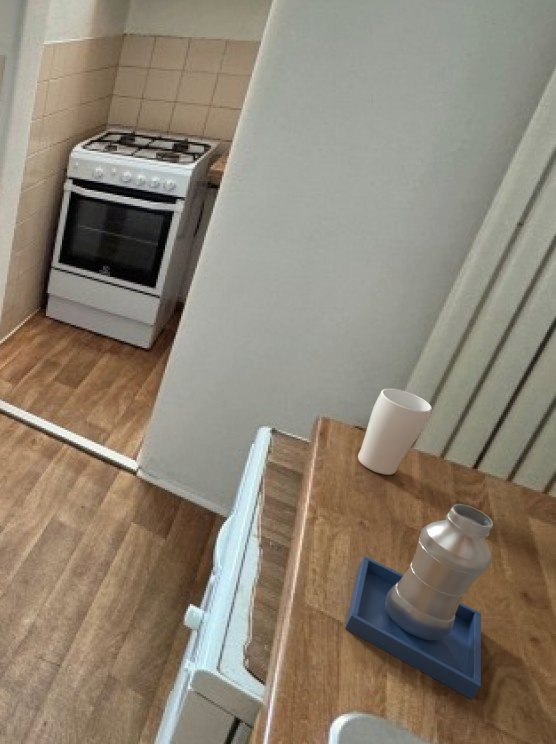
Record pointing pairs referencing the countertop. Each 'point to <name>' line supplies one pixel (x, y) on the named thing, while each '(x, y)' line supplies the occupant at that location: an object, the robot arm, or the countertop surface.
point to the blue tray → (433, 657)
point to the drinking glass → (392, 429)
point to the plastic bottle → (441, 573)
